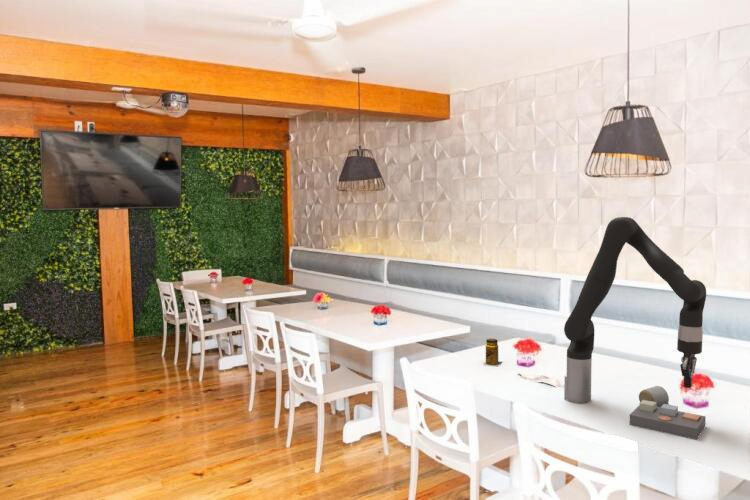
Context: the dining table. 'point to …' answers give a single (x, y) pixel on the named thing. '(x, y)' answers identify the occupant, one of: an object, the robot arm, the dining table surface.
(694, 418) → the terracotta key
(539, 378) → the cloth
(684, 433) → the key panel
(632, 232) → the robot arm
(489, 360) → the condiment
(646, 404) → the sage key
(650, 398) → the ceramic mug
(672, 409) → the blue key
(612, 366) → the dining table surface
